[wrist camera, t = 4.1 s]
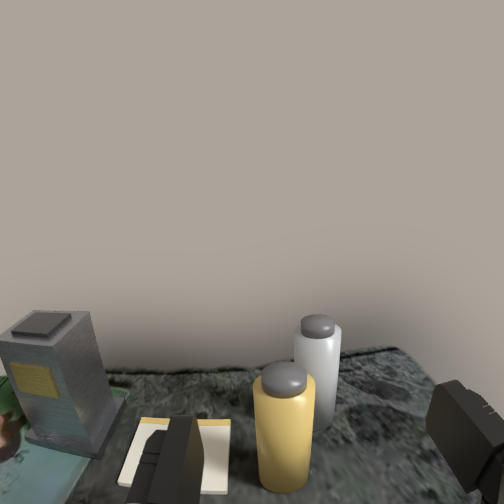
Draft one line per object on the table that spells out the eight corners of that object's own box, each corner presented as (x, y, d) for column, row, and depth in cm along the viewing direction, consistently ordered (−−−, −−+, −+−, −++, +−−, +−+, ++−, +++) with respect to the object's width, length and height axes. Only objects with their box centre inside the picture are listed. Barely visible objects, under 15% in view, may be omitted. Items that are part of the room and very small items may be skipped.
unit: (28, 442, 25) (-19, 339, 22) (61, 396, 34) (31, 303, 31) (100, 459, 25) (55, 348, 22) (126, 403, 35) (100, 304, 32)
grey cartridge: (295, 433, 30) (297, 334, 27) (291, 407, 34) (291, 313, 31) (337, 427, 30) (347, 329, 27) (328, 403, 34) (335, 310, 31)
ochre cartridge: (260, 495, 22) (252, 394, 19) (258, 460, 26) (251, 359, 23) (311, 490, 22) (321, 388, 19) (304, 456, 26) (310, 355, 23)
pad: (119, 485, 22) (117, 481, 22) (143, 421, 32) (141, 417, 31) (227, 494, 22) (226, 490, 22) (230, 423, 32) (230, 419, 32)
